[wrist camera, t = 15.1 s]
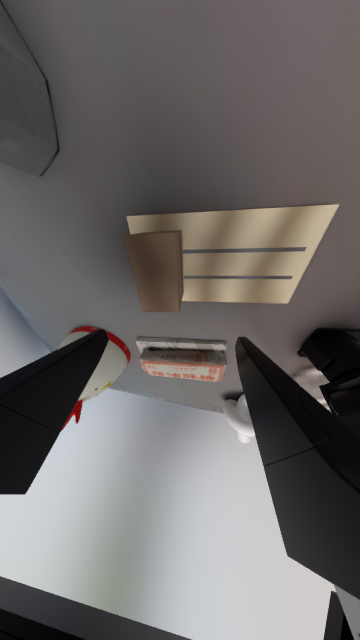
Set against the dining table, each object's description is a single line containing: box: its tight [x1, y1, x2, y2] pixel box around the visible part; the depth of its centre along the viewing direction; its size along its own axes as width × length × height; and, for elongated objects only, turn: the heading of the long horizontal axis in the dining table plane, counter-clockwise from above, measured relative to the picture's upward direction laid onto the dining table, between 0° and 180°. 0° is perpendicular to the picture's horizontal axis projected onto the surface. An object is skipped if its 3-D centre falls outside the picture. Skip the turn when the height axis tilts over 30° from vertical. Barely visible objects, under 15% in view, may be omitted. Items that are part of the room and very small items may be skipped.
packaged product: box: [136, 337, 227, 382], centre depth 27 cm, size 18×5×10 cm
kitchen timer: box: [57, 326, 130, 431], centre depth 25 cm, size 14×14×15 cm
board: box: [127, 204, 339, 304], centre depth 16 cm, size 20×10×1 cm, turn 93°
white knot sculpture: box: [223, 394, 255, 443], centre depth 33 cm, size 11×12×9 cm
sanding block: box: [124, 230, 184, 313], centre depth 14 cm, size 4×7×6 cm, turn 3°
